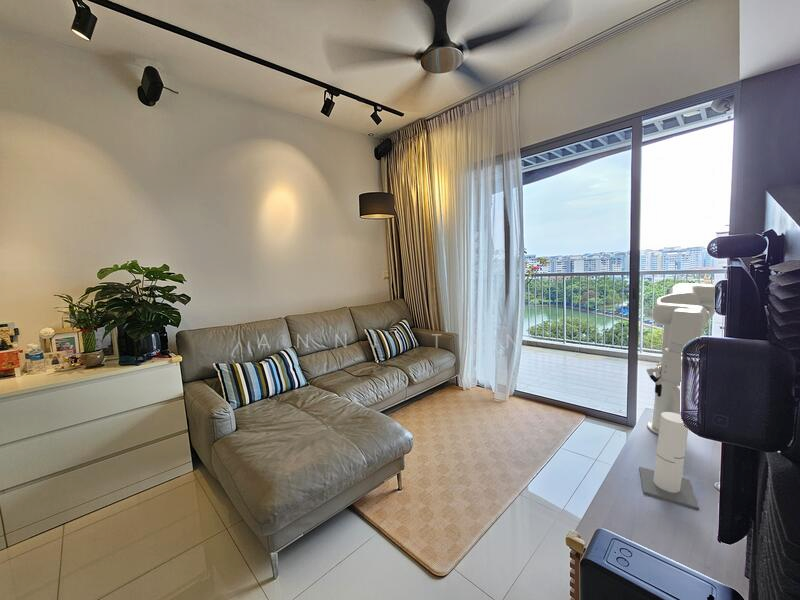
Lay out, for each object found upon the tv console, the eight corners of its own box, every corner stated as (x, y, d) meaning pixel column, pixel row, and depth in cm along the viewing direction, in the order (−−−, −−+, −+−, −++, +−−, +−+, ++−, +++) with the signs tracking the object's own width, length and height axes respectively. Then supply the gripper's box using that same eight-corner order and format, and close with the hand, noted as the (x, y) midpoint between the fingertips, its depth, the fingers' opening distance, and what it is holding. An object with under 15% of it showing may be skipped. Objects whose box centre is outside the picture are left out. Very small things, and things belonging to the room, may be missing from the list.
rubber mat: (639, 468, 121) (639, 466, 121) (688, 481, 114) (688, 479, 114) (643, 493, 109) (643, 491, 109) (698, 509, 102) (699, 507, 102)
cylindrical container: (685, 493, 108) (694, 424, 103) (660, 491, 109) (669, 422, 105) (672, 478, 114) (680, 412, 110) (649, 476, 116) (656, 411, 112)
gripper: (717, 348, 102) (709, 399, 105) (648, 341, 111) (643, 388, 114) (724, 355, 96) (716, 409, 99) (650, 347, 105) (645, 397, 108)
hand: (677, 398), depth 106 cm, fingers open, 9 cm apart
